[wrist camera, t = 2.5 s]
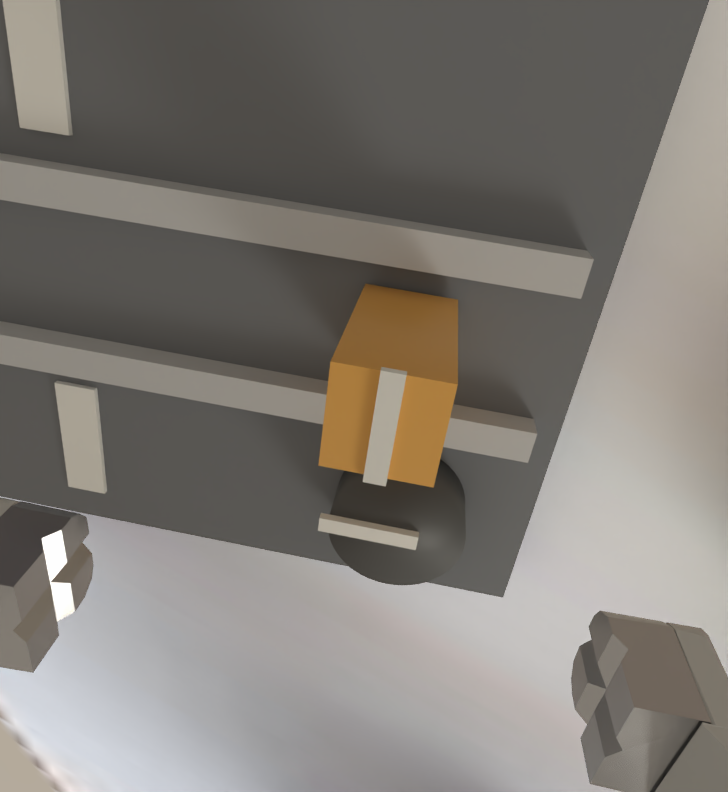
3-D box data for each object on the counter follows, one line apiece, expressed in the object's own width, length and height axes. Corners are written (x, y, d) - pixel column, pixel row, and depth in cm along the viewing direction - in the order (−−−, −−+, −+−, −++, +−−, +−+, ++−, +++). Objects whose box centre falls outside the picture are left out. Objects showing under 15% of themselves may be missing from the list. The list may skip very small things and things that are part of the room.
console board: (499, 563, 27) (506, 642, 23) (-87, 447, 28) (-170, 503, 25) (695, -31, 16) (767, -64, 12) (-259, -163, 18) (-450, -226, 14)
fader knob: (439, 384, 21) (432, 495, 15) (353, 369, 21) (316, 473, 15) (458, 296, 19) (458, 384, 14) (365, 280, 19) (329, 361, 14)
